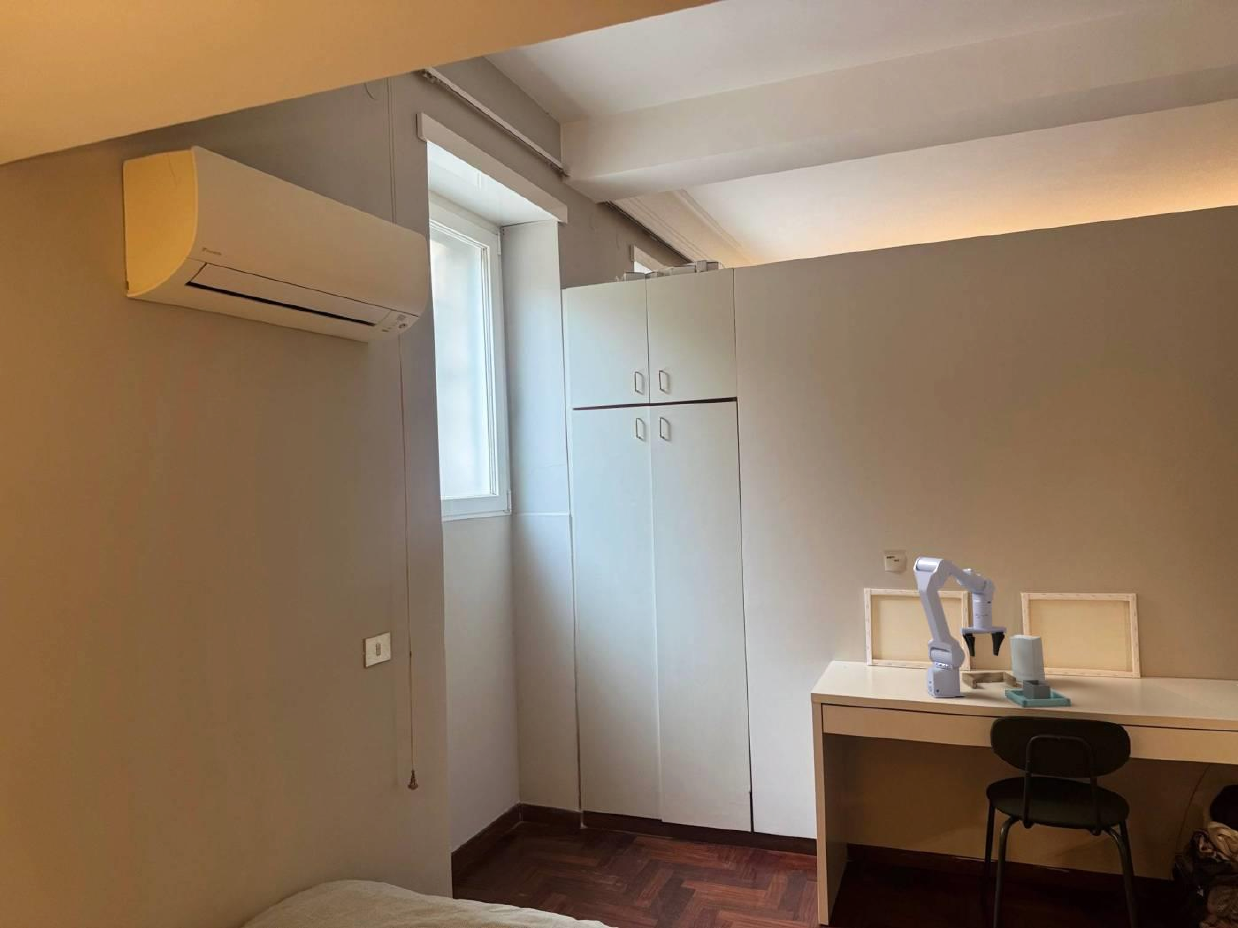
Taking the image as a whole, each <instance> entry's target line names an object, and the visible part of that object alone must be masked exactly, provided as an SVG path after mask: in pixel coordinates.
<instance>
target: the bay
mask: <svg viewBox="0 0 1238 928" xmlns="http://www.w3.org/2000/svg"><path fill="white" fill-rule="evenodd" d="M961 677H962V678H961V679H962V681H961V682H962V683H963V682H964V683H963V684H964V685H966V684H967V685H966V686H968V687H969V686H970V688H971V689H973V688H976V689H977V683H991V682H990V681H994V682H997V681H1000V682H1002V683H1005V684H1007V685H1008V686H1010V687H1011V688H1017V681H1016V678H1015V677H1013V674H1012V675H1011V674H1010V673H1007V672H1006V671H984V672H983V671H981V672H980V671H979V672H976V671H975V672H962V673H961ZM997 683H998V682H997Z"/></svg>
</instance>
